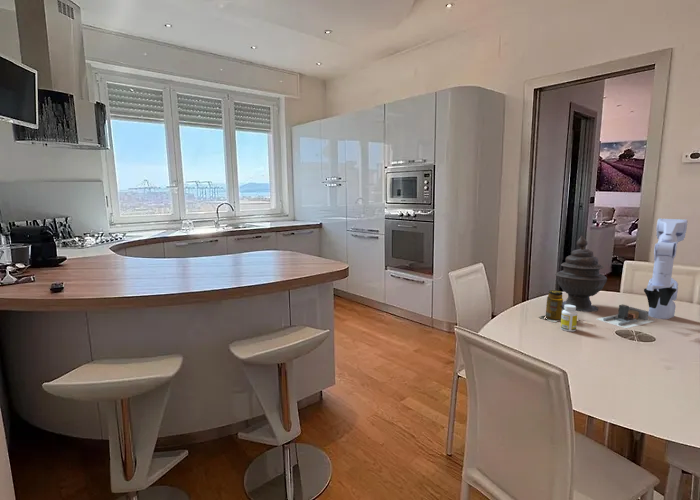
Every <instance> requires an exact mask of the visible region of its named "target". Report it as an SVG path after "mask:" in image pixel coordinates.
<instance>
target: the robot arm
mask: <svg viewBox="0 0 700 500" xmlns="http://www.w3.org/2000/svg"><path fill="white" fill-rule="evenodd" d="M687 229H688V219H687V218H684V219H679V218H676V219H675V218H661V217H660V218H658V219H657V221H656V238H657V239H658V241H657V242H656V243H655V244H654V249H653V262H654V263H653V270H652V277H651V278H649V281H648V283H647V284H646V288H643V292H644V293H645V296H646V298H647V304H648V311H649V313H648V317H651V318H654V319H660V320H670V319H671V318H675V313H676V302H675V301H677V300H678V299H677V298H678V291H679V283H678V281H677V280H675V279H674V278H673V270H674V269H673V267H674V259H675V258H676V255H677V249H678V243H679V242H683V241H685V238H686V234H687Z"/></svg>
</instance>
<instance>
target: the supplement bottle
mask: <svg viewBox="0 0 700 500" xmlns="http://www.w3.org/2000/svg"><path fill="white" fill-rule="evenodd" d="M564 309H565V310H564ZM564 309H562V316H561V321H560V329H561V330H562V331H565V332H569V333H570V332H572V333H573V332H576V331H577V323H578V311H575V310H576V306H574V305H568V304H567V305H564Z"/></svg>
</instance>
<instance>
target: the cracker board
mask: <svg viewBox="0 0 700 500" xmlns="http://www.w3.org/2000/svg"><path fill="white" fill-rule="evenodd" d="M629 310H633V311H637V312H639V316H638V320H637V319H633V320H629V321H624V322H622V321H619V320H615V317H617V316H618V313H616V314H613V315H608V316H604V317H598V318H596V320H597V321H600V322H603V323H608V324H610V325H614V326H617V327H620V328H623V329H630V328H634V327H637V326H638V327H639V326H642V325H646V324H650V323H653V322H654V323H655V322H656V320H653V319H650V318H649V315H648V313H649V310H645V309H641V308H636V307H633V306H629Z"/></svg>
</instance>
